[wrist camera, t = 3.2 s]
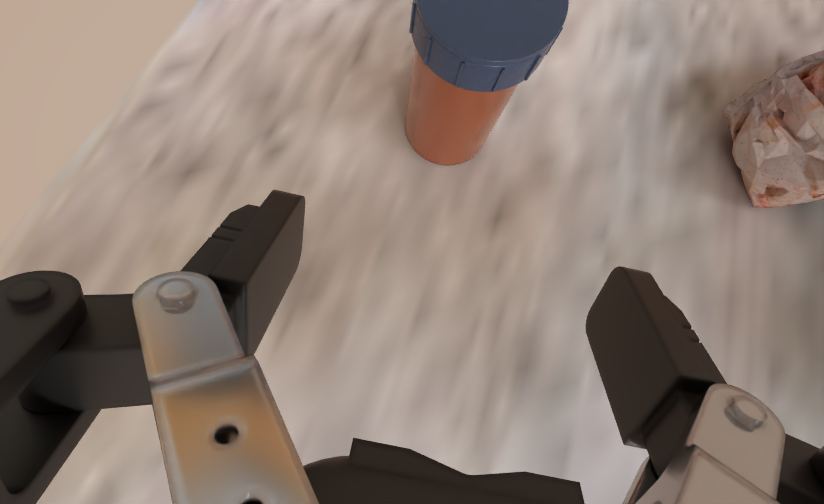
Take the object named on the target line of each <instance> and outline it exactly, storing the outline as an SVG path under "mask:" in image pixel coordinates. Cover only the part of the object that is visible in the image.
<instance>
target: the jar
mask: <svg viewBox="0 0 824 504" xmlns="http://www.w3.org/2000/svg"><path fill="white" fill-rule="evenodd" d="M517 86H518V84H517V85H515V86H513V87H510V88H507V89H504V90H500V91H495V92H493V93H492V92H476V91H470V90H465V89H462V88H459V87H455V86H454V85H452V84H450V83H448V82H446V81H445V80H443V79H442V78H440V77H439V76H437V75H436V74H435V73H434V72H433V71H432V70H431V69H430V68H429V67H428V66H427V65H425V64H424V61H423V60H422V58H421V57H420V55H419V53H418V51H417V50H416V48H415V55H414V62H413V69H412V76H411V83H410V90H409V97H408V104H407V111H406V118H405V130H406V135H407V138H408V140H409V142H410V144H411V145H412V147H413V148H414V149H415V151H416V152H417V153H418V154H420V155H421V156H422V157H424V158H425V159H427V160H429V161H431V162H433V163H436V164H441V165H456V164H460V163H463V162H465V161H468V160H469V159H471V158H472V157H474V156H475V155H476V154H477V153H478V152H479V151H480V149H481V148H482V146H483V145H484V143H485V141H486V140H487V138H488V136H489V134H490V133H491V131H492V129H493V127H494V126H495V124H496V122H497V120H498V119H499V117H500V115H501V113H502V112H503V110H504V108H505V106H506V105H507V103H508V101H509V99H510V98H511V96H512V94H513V93H514V91H515V89H516V87H517Z"/></svg>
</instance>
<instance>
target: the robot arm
mask: <svg viewBox="0 0 824 504" xmlns="http://www.w3.org/2000/svg"><path fill="white" fill-rule="evenodd" d="M304 213H305V198H304V196H301V195H296V194H291V193H287V192H282V191H278V190H273V191H272V192H271V193H270V194H269V196H268V197H267V198H266V200H265V201H264V202H263V203H262V205H261V206H260V207H258V206H253V205H249V204H248V205H246V206H244V207H242V208H240V209H238V210H236V211H234V212H231V213H230V214H229V215H228V217H227V218H226V219H225V220H224V221H223V222H222V224H221V225H220V227H218V228H217V229H216V231H215V232H214V233H213V234H212V237H209V239H208V240H207V241H206V242H205V243H204V244H203V246H202V247H201V248H200V249H199V250H198V251H197V253H196V254H195V255H194V256H193V257H192V258H191V259H190V261H189V262H188V263H187V264H186V265H185V266H184V268H183V269H182V270H181V271H180V272H169V273H165V274H161V275H158V276H155V277H153V278H151V279H149V280H147V281H146V282H144V283H143V284H142V285H140V286H139V287H138V289H137V290H136V291H135V293H134V294H117V295H83V292H82V288H81V285H80V283H79V281H78V280H77V279H76V278H74V277H73V276H71V275H69V274H66V273H62V272H58V271H33V272H27V273H22V274H18V275H15V276H11V277H8V278H6V279H4V280H1V281H0V504H36V503H37V501H38V500H39V498H40V497H41V496H42V494H43V493H44V491H45V490H46V488H47V487H48V485H49V484H50V483H51V481H52V480H53V478H54V477H55V475H56V474H57V472H58V471H59V470H60V468H61V467H62V465H63V464H64V462H65V461H66V459H67V458H68V457H69V455H70V454H71V452H72V451H73V449H74V448H75V447H76V445H77V444H78V442H79V441H80V439H81V438H82V436H83V435H84V434H85V432H86V431H87V429H88V428H89V426H90V425H91V423H92V422H93V421H94V419H95V418H96V416H97V415H98V413H99V412H100V410H101V409H105V408H117V407H128V406H139V405H151V404H152V406H153V411H154V416H155V421H156V425H157V430H158V435H159V440H160V445H161V450H162V455H163V459H164V464H165V469H166V474H167V479H168V484H169V489H170V494H171V499H172V504H584V500H583V495H582V491H581V487H580V482H575V481H570V480H564V479H559V478H554V477H549V476H544V475H539V474H534V473H529V472H514V473H500V474H485V475H466V474H464V473H461V472H459V471H457V470H454V469H452V468H450V467H448V466H446V465H444V464H441V463H439V462H437V461H435V460H433V459H430V458H428V457H426V456H424V455H422V454H420V453H417V452H415V451H413V450H411V449H407V448H402V447H397V446H392V445H387V444H382V443H377V442H372V441H366V440H361V439H356V438H353V442H352V446H351V451H350V455H349V456H339V457H332V458H327V459H322V460H319V461H316V462H313V463H310V464H307V465H305V466H303V465H302V463H301V461H300V458H299V456H298V454H297V451H296V449H295V447H294V444H293V442H292V440H291V437H290V435H289V433H288V430H287V428H286V426H285V423H284V421H283V419H282V416H281V414H280V412H279V409H278V407H277V405H276V402H275V400H274V398H273V395H272V393H271V391H270V388H269V386H268V384H267V381H266V379H265V377H264V374H263V372H262V370H261V367H260V365H259V363H258V361H257V359H256V358H255V356H254V353H255V351H256V350H257V348H258V346H259V344H260V342H261V340H262V338H263V336H264V334H265V332H266V330H267V328H268V326H269V324H270V322H271V320H272V318H273V316H274V314H275V312H276V310H277V308H278V306H279V304H280V302H281V300H282V298H283V296H284V294H285V292H286V290H287V288H288V286H289V284H290V282H291V280H292V278H293V276H294V274H295V272H296V270H297V267H298V264H299V260H300V256H301V250H302V239H303V226H304ZM586 334H587V337H588V340H589V343H590V346H591V349H592V352H593V355H594V358H595V361H596V364H597V367H598V370H599V373H600V376H601V378H602V381H603V384H604V387H605V390H606V393H607V396H608V399H609V402H610V405H611V408H612V411H613V414H614V417H615V420H616V423H617V426H618V429H619V432H620V435H621V438H622V441H623V444H624V445H628V446H633V447H638V448H643V449H647V451H648V454H649V456H648V457H647V459H646V460H645V461H644V462H643V463H642V465H641V466H640V468H639V471H638V473H637V475H636V477H635V479H634V481H633V483H632V485H631V487H630V489H629V491H628V493H627V495H626V497H625V499H624V501H623V503H622V504H824V447H822V448H821V449H819V448H817V447H814V446H812V445H810V444H808V443H805V442H803V441H801V440H799V439H796V438H794V437H792V436H790V435H788V434H785V430H784V428H783V426H782V424H781V422H780V421H779V419H778V418H777V417H776V415H775V414H774V413H773V412H772V411H771V410H770V409H769V408H768V407H767V406H766V405H765V404H764V403H762V402H761V401H760V400H759V399H757V398H756V397H754V396H753V395H751V394H749V393H748V392H746V391H744V390H742V389H740V388H737V387H735V386H732V385H728V384H727V383H726V381H725V380H724V378H723V377H722V375H721V373H720V372H719V370H718V369H717V367H716V365H715V364H714V362H713V361H712V359H711V357H710V356H709V354H708V353H707V351H706V349H705V348H704V346H703V345H702V343H699V338H698V337H697V335H696V333H695V332H694V330H691V325H690V324H689V322H688V320H687V319H686V317H685V316H684V314H683V312H682V311H681V310H680V309H679V308H678V307H677V306H676V305H675V304H673V303H672V302H671V301H670V300H669V299H668V298H667V297H666V296H664V295H663V293H662V291H661V290H660V288H659V286H658V285H657V283H656V281H655V280H654V278H653V276H652V275H651V274H650V273H648V272H643V271H639V270H634V269H630V268H625V267H620V266H619V267H616V268H615V269H614V270H613V271H612V272H611V274H610V275H609V277H608V279H607V281H606V282H605V284H604V286H603V288H602V289H601V291H600V293H599V295H598V296H597V298H596V300H595V302H594V303H593V305H592V307H591V309H590V311H589V313H588V316H587V320H586Z"/></svg>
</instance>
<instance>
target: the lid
mask: <svg viewBox="0 0 824 504" xmlns="http://www.w3.org/2000/svg"><path fill="white" fill-rule="evenodd" d="M568 4H569V2H568V0H413V5H412V13H411V22H410V33H411V34H412V38H413V42H414V44H415V47H416V50H417V51H418V53H419V55H420V57H421V58H422V60H423V61H424V64H425V65H427V66H428V67H429V68H430V69H431V70H432V71H433V72H434V73H435V74H436V75H437V76H439V77H440V78H442V79H443V80H445V81H446V82H448V83H450V84H452V85H454V86H455V87H459V88H462V89H465V90H470V91H476V92H492V93H493V92H495V91H500V90H504V89H507V88H510V87H513V86H515V85H517V84H519V83H520V82H522V81H524V80H528V78H529V76H530V75H531V74H532V73H533V72H534V71H535V70H536V69H537V67H538V66H539V64H540V63H541V61H542V59H543V58H544V56H545V55H547V53H548V52H549V50H550V49H551V47H552V45H553V44H554V42H555V40H556V39H557V37H558V36H559V34H560V32H561V31H562V29H563V28H562V26H563V24H564V22H565V19H566V15H567V11H568Z"/></svg>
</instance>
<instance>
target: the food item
mask: <svg viewBox="0 0 824 504" xmlns="http://www.w3.org/2000/svg"><path fill="white" fill-rule="evenodd" d="M724 112H725V115H724V116H723V117H724V118H728V120H729V126H728V127H729V128H730V129H731V135H732V139H733V150H732V154H733V157H734V160H735V162H736V165H737V166H738V167H739V168H740V169H741V174H742V178H743V181H744V185H745V188H746V191H747V194H748V196H749V198H750V200H751V203H752V205H753V207H763V208H769V207H777V206H786V205H794V204H800V203H806V202H811V201H817V200H822V199H824V51H821V52H818V53H815V54H812V55H809V56H806V57H802V58H800V59H799V60H797V61H795V62H793V63H790V64H787V65H785V66H783V67H782V68H780V69H779V70H778V71H777V72H776V73H775V74H774V76H773V77H772V78H770V79H765V80H763V81H762V82H760V83H758V84H756V85H755V86H753V87H751V88H750V89H749V90H748V91H747V92H745V93H744V94H743V95H742V96H741V97H739V98H738V99H736V100H735V101H733V102H731V103H730V104H729V105H728V106H727V108H726V110H725V111H724Z"/></svg>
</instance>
